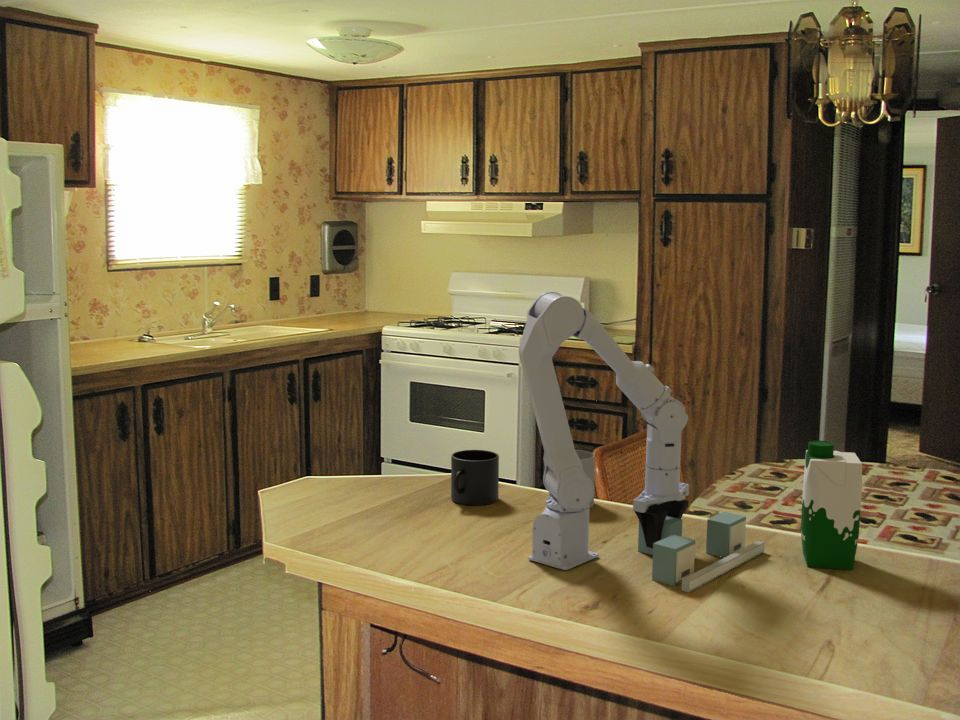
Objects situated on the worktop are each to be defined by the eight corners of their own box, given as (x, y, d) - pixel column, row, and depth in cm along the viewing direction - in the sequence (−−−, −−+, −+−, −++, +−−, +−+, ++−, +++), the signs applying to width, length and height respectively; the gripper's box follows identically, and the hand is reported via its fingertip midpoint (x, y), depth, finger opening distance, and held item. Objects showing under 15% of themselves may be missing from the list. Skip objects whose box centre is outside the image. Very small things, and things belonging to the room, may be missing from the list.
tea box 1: (681, 553, 175) (683, 519, 174) (668, 559, 171) (669, 524, 170) (651, 545, 178) (652, 511, 178) (637, 551, 175) (639, 517, 174)
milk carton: (796, 551, 176) (803, 436, 173) (852, 555, 174) (859, 439, 171) (801, 568, 168) (808, 448, 165) (860, 572, 166) (868, 451, 163)
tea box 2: (675, 586, 159) (676, 549, 158) (651, 580, 162) (653, 543, 161) (695, 576, 164) (696, 540, 163) (672, 570, 167) (673, 534, 166)
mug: (434, 504, 202) (434, 459, 201) (468, 490, 212) (468, 447, 211) (474, 512, 197) (475, 466, 196) (507, 497, 207) (507, 453, 206)
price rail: (689, 592, 157) (689, 581, 156) (681, 590, 158) (681, 579, 157) (764, 552, 175) (765, 542, 175) (757, 550, 176) (757, 540, 176)
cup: (595, 510, 199) (596, 460, 197) (552, 510, 199) (553, 459, 197) (591, 498, 207) (592, 449, 206) (550, 497, 207) (551, 449, 206)
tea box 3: (728, 559, 172) (730, 524, 171) (706, 553, 175) (707, 519, 174) (745, 550, 176) (747, 516, 176) (723, 545, 179) (724, 511, 178)
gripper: (660, 478, 165) (657, 560, 167) (705, 462, 175) (702, 539, 177) (623, 471, 169) (621, 550, 171) (669, 455, 180) (667, 530, 182)
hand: (660, 544), depth 175 cm, fingers closed on tea box 1, 4 cm apart
